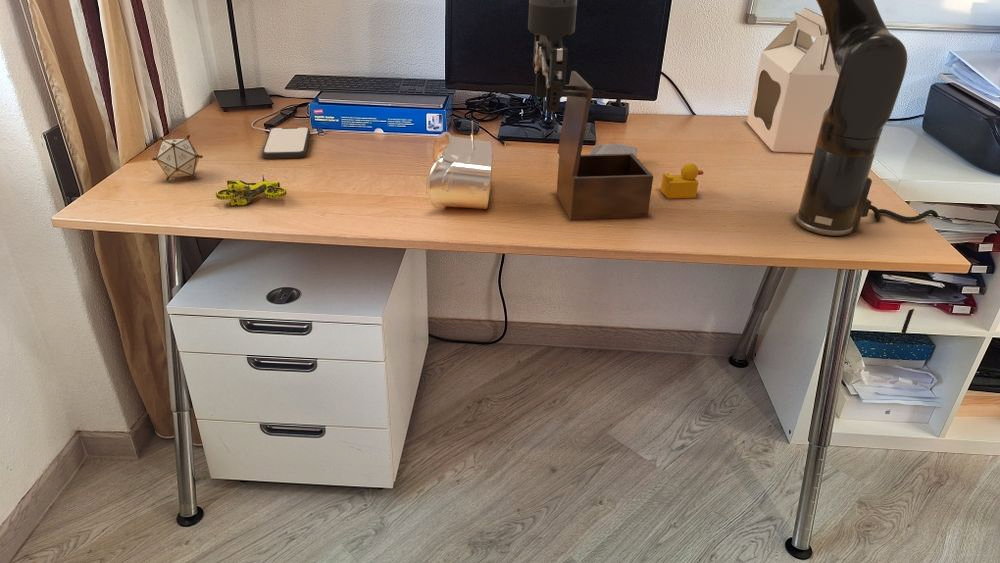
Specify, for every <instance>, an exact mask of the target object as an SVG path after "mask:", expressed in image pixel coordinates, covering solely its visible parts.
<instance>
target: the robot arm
mask: <svg viewBox="0 0 1000 563" xmlns="http://www.w3.org/2000/svg"><path fill="white" fill-rule="evenodd" d="M815 1H816V3H817V5H818V7H819V10H820V12H821V16H823V18H824V21H825V25H826V29H827V32H828V36H829V40H830V45H831V50H832V54H833V59H834V64H835V68H836V70H837V72H838V74H839V78H838V82H837V85H836V89H835V93H834V96H833V99H832V103H831V105H830V107H829V108H828V109H827V110H826V111H825V112H824V115H823V119H822V122H821V127H820V130H819V134H818V138H817V142H816V146H815V150H814V153H812V158H811V162H810V165H809V170H808V172H807V177H806V181H805V185H804V189H803V192H802V196H801V200H800V204H799V208H798V211H797V213H796V217H795V222H796V224H797V225H798V226H800V227H801V228H803V229H805V230H807V231H809V232H812V233H815V234H817V235H818V234H819V235H824V236H831V237H834V236H835V237H840V236H841V237H842V236H847V235H849V234H852V232H857V231H858V229H859V226H860V222H861V219H862V218H867V217H868V215H869V212H870V210H871V211H872V212H873V214H874V219H875V221H880V220H881V215H880V214H882V215H887V216H890V217H892V218H894V219H897V220H899V221H901V222H902V221H903V222H916V221H920V220H923V219H924V218H925V217H926V218H927V216H929V215H931V216H933V218H939V214H938V212H937V211H936V210H934V209H928V210H925V211H923V212H922V213H920V214H918V215H915V216H904V215H901V214H899V213H896V212H894V211H892V210H889V209H885V208H879V209H878V208H877V207H876V206H875V205H872V200H870V199H868V196H869V194H870V191H871V190H870V189H871V186H872V183H873V180H872V179H871V177H869V175H870V171H871V168H872V165H873V162H874V158H875V155H876V151H877V148H878V145H879V141H880V138H881V135H882V132H883V129H884V126H885V125H886V124H887V122H888V121H889V119H890V118H891V116H892V113H893V110H894V107H895V104H896V103H897V99H898V96H899V94H900V90H901V88H902V84H903V81H904V78H905V75H906V72H907V67H908V52H907V51H908V50H907V49H906V47H905V44H904V43H903V42H902V41H901V40H900V39H899V38H898V37H897V36H895V35H894V34H892V33H891V32H890V31H889V29H888V28H887V26H886V24H885V22H884V20H883V18H882V15H881V14H880V11H879V9H878V7H877V4H876V1H875V0H815ZM577 7H578V0H528V19H527V30H528V31H529V32H530V33H532V34H533V35H534V36H533V37H534V42H533V44H534V45H533V60H532V66H533V68H534V73H535V91H534V93H535V96H536V97H537V98H545V110H546V111H547V112H559V110H560V106H561V98H560V93H561V88H562V87H565V85H567V69H568V55H569V54H568V53H569V50H568V47H565V46H564V45H563V40H562V39H563V37H564V36H570V35H573V34H574V33H575V31H576V20H577V19H576V18H577ZM555 76H557V78H555ZM546 86H547V88H546ZM914 311H915V308H912V309H908V312H907V315H906V317H905V320H904V322H903V326H902V328H901V333H902V334H906V333H907V330H908V328H909V324H910V322H911V319H912V316H913V314H914Z"/></svg>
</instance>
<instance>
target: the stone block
mask: <svg viewBox="0 0 1000 563" xmlns="http://www.w3.org/2000/svg"><path fill="white" fill-rule="evenodd" d="M637 152H638V146H630V145H626V144H622V143H615V142H614V143H613V142H611V143H605V144H599V145H594V146H593V148H592V149H591V150H590V152H589V153H588V155H590V154H630V153H633V154H634V156H635V157H636V158H637Z"/></svg>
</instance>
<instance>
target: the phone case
mask: <svg viewBox="0 0 1000 563" xmlns="http://www.w3.org/2000/svg"><path fill="white" fill-rule="evenodd" d="M310 137H311V129H310V128H309V127H306V126H304V127H303V126H300V127H299V126H298V127H272V128H271V129H269V131H268V134H267V136H266V140H265V143H264V145H263V149H262V151H261V153H262V154H261V155H262V158H263V159H265V160H276V159H277V160H278V159H279V160H280V159H282V160H283V159H302V158H304V157H306V155H307V150H308V146H309V141H310Z"/></svg>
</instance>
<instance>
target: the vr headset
mask: <svg viewBox="0 0 1000 563" xmlns="http://www.w3.org/2000/svg"><path fill="white" fill-rule="evenodd" d="M474 133H475V132H474V120H471V133H470V138H469V137H461V136H456V135H453V134H451V133H450V132H448V131H443V132H441V133H440V134H439V135H438V136H436V138H435V140H434V143H433V147H432V159H433V164H432V166H431V168H430V170H429V173H428V175H427V179H426V195H427V200H428V201H429V203H430V205H431V206H433V207H434V208H436V209H441V208H445V207H450V208H465V209H467V208H469V209H483V210H487V209H488V205H489V200H490V194H491V184H492V175H493V156H494V154H493V144H492V141H491V140H483V139H475V134H474Z"/></svg>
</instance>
